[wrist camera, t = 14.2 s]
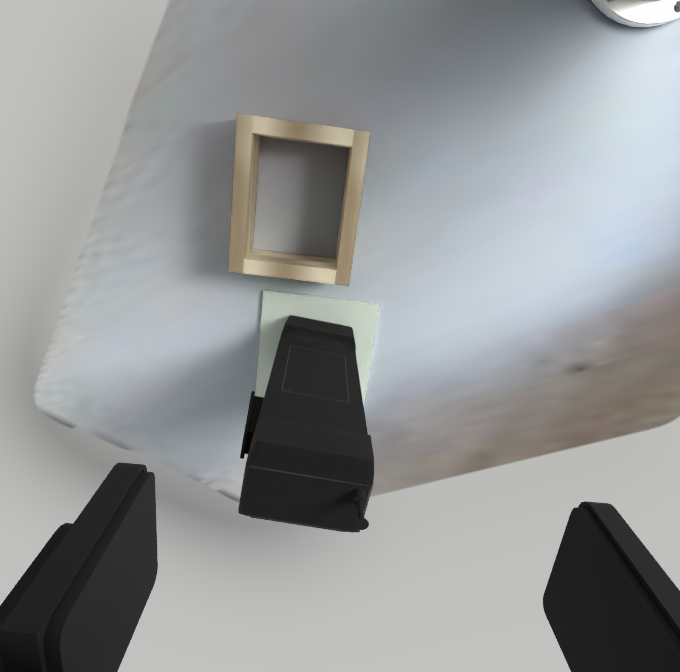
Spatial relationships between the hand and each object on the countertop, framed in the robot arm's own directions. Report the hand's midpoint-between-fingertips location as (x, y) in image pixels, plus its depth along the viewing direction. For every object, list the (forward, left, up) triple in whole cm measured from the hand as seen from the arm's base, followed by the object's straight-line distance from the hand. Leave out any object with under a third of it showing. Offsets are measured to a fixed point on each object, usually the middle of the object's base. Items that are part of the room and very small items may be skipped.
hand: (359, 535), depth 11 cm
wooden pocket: (+4, -4, -36) cm, 37 cm away
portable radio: (+1, +9, -36) cm, 37 cm away
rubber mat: (+1, +10, -36) cm, 38 cm away
